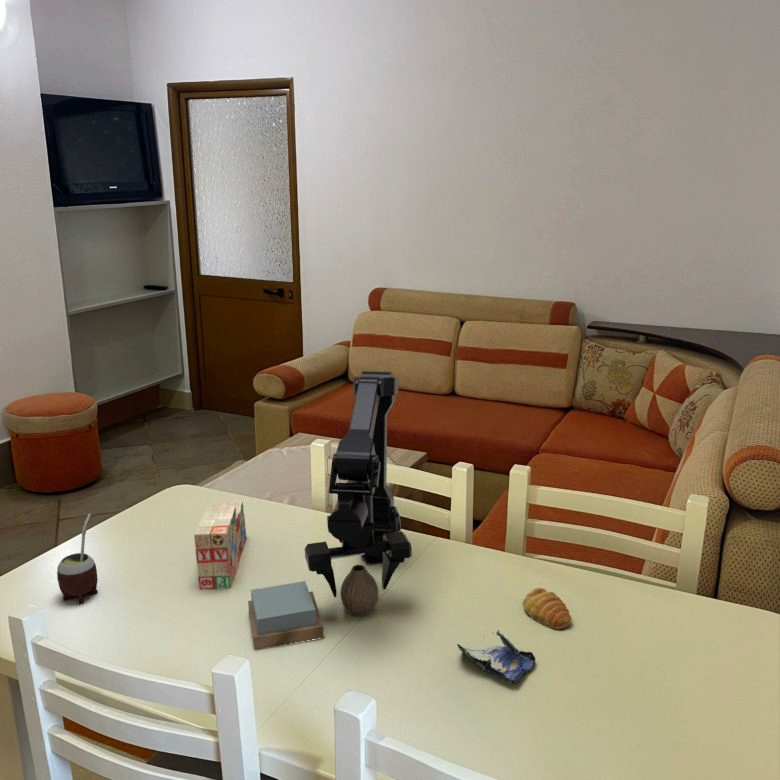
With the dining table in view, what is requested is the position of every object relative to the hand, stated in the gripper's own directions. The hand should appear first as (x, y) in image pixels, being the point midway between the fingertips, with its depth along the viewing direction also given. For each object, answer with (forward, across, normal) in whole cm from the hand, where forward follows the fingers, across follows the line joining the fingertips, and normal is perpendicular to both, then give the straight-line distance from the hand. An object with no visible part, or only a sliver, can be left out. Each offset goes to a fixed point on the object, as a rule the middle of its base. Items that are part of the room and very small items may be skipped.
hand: (359, 592), depth 140 cm
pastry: (+4, -32, +11) cm, 34 cm away
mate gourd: (+4, +51, -20) cm, 55 cm away
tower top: (+1, +14, +1) cm, 14 cm away
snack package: (+4, -18, +22) cm, 29 cm away
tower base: (+4, +14, +1) cm, 15 cm away
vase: (+4, 0, 0) cm, 4 cm away
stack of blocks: (+4, +24, -25) cm, 35 cm away
